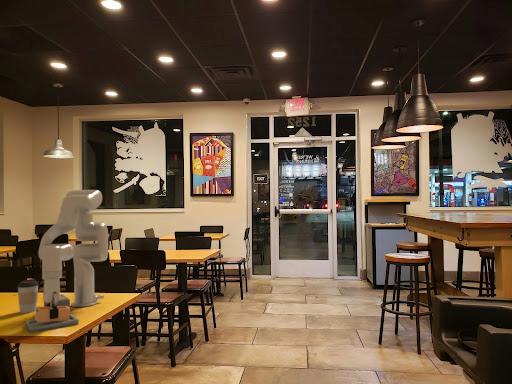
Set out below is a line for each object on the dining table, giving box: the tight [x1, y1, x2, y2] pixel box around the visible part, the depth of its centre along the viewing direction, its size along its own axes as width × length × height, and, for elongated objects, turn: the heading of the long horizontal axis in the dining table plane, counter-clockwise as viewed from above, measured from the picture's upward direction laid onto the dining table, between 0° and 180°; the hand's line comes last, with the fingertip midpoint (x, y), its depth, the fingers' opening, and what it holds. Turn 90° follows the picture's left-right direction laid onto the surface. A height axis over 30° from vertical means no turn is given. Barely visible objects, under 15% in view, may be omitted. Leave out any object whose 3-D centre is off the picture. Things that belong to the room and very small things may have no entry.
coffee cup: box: [17, 279, 39, 314], centre depth 192 cm, size 9×9×15 cm
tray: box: [25, 313, 80, 334], centre depth 166 cm, size 18×13×2 cm
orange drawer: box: [34, 306, 71, 322], centre depth 166 cm, size 12×7×5 cm, turn 128°
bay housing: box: [43, 293, 71, 309], centre depth 183 cm, size 16×8×8 cm, turn 38°
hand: (52, 316), depth 166 cm, fingers closed on orange drawer, 7 cm apart
